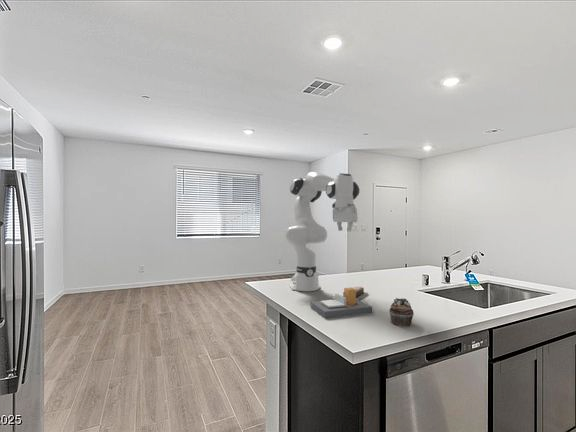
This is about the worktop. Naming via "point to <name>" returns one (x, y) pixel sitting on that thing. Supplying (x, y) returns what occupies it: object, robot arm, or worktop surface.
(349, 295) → the orange block
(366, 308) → the socket plate
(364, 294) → the packaged product
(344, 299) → the shutter
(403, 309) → the cupcake
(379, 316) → the worktop surface
